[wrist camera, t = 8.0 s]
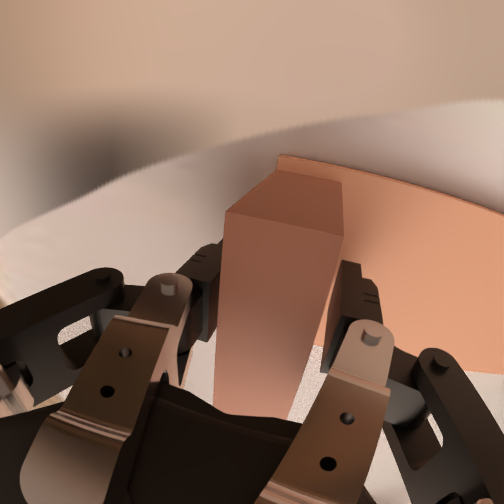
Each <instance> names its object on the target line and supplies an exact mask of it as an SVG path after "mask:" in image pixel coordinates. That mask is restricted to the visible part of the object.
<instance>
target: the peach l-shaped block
mask: <svg viewBox="0 0 504 504" xmlns="http://www.w3.org/2000/svg"><path fill="white" fill-rule="evenodd" d="M341 260H346V261H351V262H355V263H359V264H361V270H362V277H363V278H367V279H371V280H372V281H373V282H374V284H375V285H376V286H377V287H378V292H379V298H380V305H381V311H382V318H383V325H384V326H385V327H387V328H388V329H389V330H390V331H391V333H392V334H393V336H394V340H395V343H394V346H396V347H397V348H399V349H400V350H402V351H405V352H407V353H409V354H412V355H414V356H416V357H418V356H419V355H420V353H421V352H422V351H423V350H424V349H426V348H439V349H442V350H444V351H446V352H447V353H449V354H450V355H452V356H453V357H454V358H455V360H456V361H457V362H458V364H459V365H460V367H461V368H462V370H464V371H473V372H483V373H494V374H504V214H501V213H498V212H496V211H493V210H490V209H488V208H485V207H482V206H479V205H477V204H474V203H471V202H468V201H465V200H462V199H459V198H456V197H453V196H450V195H447V194H444V193H440V192H437V191H434V190H431V189H427V188H424V187H421V186H417V185H414V184H410V183H407V182H403V181H399V180H396V179H392V178H388V177H384V176H380V175H376V174H372V173H368V172H364V171H360V170H355V169H351V168H346V167H342V166H337V165H333V164H328V163H323V162H318V161H313V160H308V159H302V158H297V157H291V156H286V155H280V156H278V163H277V170H276V171H274V172H273V173H272V174H271V175H269V176H268V177H267V178H266V179H264V180H263V181H262V182H261V183H259V184H258V185H257V186H256V187H255V188H253V189H252V190H251V191H250V192H248V193H247V194H246V195H245V196H244V197H242V198H241V199H240V200H239V201H238V202H236V203H235V204H234V205H233V206H232V207H230V208H229V209H228V210H227V211H226V212H225V223H224V235H223V248H222V261H221V274H220V288H219V303H218V319H217V335H216V353H215V373H214V395H213V407H215V408H217V409H219V410H220V411H222V412H224V413H227V414H232V415H244V416H260V417H275V418H280V419H284V420H286V419H287V417H288V414H289V411H290V409H291V406H292V404H293V401H294V398H295V395H296V393H297V390H298V387H299V384H300V382H301V379H302V376H303V373H304V370H305V367H306V364H307V362H308V359H309V356H310V353H311V350H312V347H313V345H317V346H322V347H323V346H324V338H325V330H326V322H327V312H328V306H329V302H330V298H331V294H332V291H333V287H334V284H335V280H336V276H337V273H338V269H339V266H340V262H341Z"/></svg>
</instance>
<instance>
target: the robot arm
mask: <svg viewBox="0 0 504 504" xmlns="http://www.w3.org/2000/svg"><path fill="white" fill-rule="evenodd" d="M222 248H223V239H222V240H221V241H220V242H219V243H218V244H213V243H211V244H209V245H206V246H204V247H201V248H200V249H199V250H198V251H197V252H196V253H195V255H193V256H192V257H191V258H190V260H188V261H187V262H186V263H185V264H184V265H183V266H182V267H181V268H180V269H179V270H178V271H177V272H176V273H163V274H159V275H156V276H154V277H152V278H151V279H150V280H149V281H148V282H147V284H146V285H145V286H136V285H125V284H124V277H123V274H122V273H121V272H120V271H119V270H117V269H114V268H106V267H105V268H97V269H94V270H91V271H89V272H86V273H84V274H81V275H79V276H76V277H74V278H71V279H69V280H67V281H64V282H62V283H59V284H57V285H55V286H52V287H50V288H47V289H45V290H43V291H40V292H38V293H36V294H33V295H31V296H29V297H26V298H24V299H22V300H20V301H17V302H15V303H13V304H11V305H8V306H6V307H4V308H2V309H0V504H376V503H375V501H374V500H373V498H372V497H371V495H370V494H369V492H368V491H367V489H366V488H365V486H364V483H365V480H366V477H367V475H368V472H369V469H370V466H371V463H372V460H373V457H374V453H375V450H376V447H377V443H378V440H379V437H380V433H381V429H382V428H383V431H384V433H385V435H386V438H387V440H388V443H389V445H390V448H391V450H392V453H393V455H394V458H395V460H396V463H397V466H398V468H399V471H400V473H401V476H402V479H403V481H404V484H405V487H406V489H407V492H408V495H409V497H410V500H411V503H412V504H504V434H503V432H502V431H501V429H500V427H499V426H498V424H497V422H496V421H495V419H494V417H493V416H492V414H491V412H490V411H489V409H488V408H487V406H486V404H485V403H484V401H483V400H482V398H481V396H480V395H479V393H478V392H477V390H476V389H475V387H474V386H473V384H472V383H471V381H470V380H469V378H468V377H467V375H466V374H465V372H464V371H463V370H462V368H461V367H460V365H459V364H458V362H457V361H456V360H455V358H454V357H453V356H452V355H450V354H449V353H447V352H446V351H444V350H442V349H439V348H426V349H424V350H423V351H422V352H421V353H420V355H419V356H418V357H416V356H414V355H412V354H409V353H407V352H405V351H402V350H400V349H399V348H397V347H396V346H394V343H395V340H394V336H393V334H392V333H391V331H390V330H389V329H388V328H387V327H385V326H384V325H383V318H382V311H381V305H380V298H379V292H378V287H377V286H376V285H375V284H374V282H373V281H372V280H371V279H367V278H363V277H362V270H361V264H359V263H355V262H351V261H346V260H341V262H340V266H339V269H338V273H337V276H336V280H335V284H334V287H333V291H332V294H331V298H330V302H329V306H328V312H327V322H326V330H325V338H324V346H323V354H322V361H321V368H320V372H321V373H326V374H328V375H327V377H326V379H325V381H324V383H323V385H322V387H321V389H320V391H319V393H318V395H317V397H316V399H315V401H314V403H313V405H312V407H311V409H310V411H309V413H308V415H307V417H306V419H305V420H304V422H303V424H302V423H297V422H293V421H288V420H284V419H280V418H275V417H260V416H244V415H232V414H227V413H224V412H222V411H220V410H219V409H217V408H215V407H213V406H212V405H210V404H208V403H207V402H205V401H203V400H202V399H200V398H199V397H197V396H195V395H194V394H192V393H190V392H189V391H186V390H184V389H183V388H184V384H185V381H186V377H187V373H188V369H189V365H190V361H191V357H192V353H193V345H194V343H195V342H196V340H197V339H198V340H201V341H204V342H208V341H209V339H210V337H211V336H212V334H213V332H214V331H215V329H216V327H217V319H218V303H219V288H220V274H221V261H222ZM87 316H89V317H90V322H91V326H92V329H91V330H89V331H87V332H85V333H83V334H81V335H79V336H77V337H75V338H73V339H71V340H69V341H67V342H65V343H63V344H61V345H59V344H58V341H57V337H58V334H59V332H60V331H61V330H62V329H63V328H64V327H66V326H68V325H70V324H72V323H74V322H77V321H79V320H81V319H83V318H85V317H87ZM72 385H73V386H72ZM70 386H72V388H71V390H70V392H69V394H68V396H67V398H66V400H65V401H64V402H60V403H57V404H53V405H50V406H46V407H42V408H38V409H35V410H31V409H32V407H34V406H36V405H38V404H40V403H42V402H43V401H45V400H47V399H49V398H51V397H52V396H54V395H56V394H58V393H59V392H61V391H63V390H65V389H67V388H68V387H70ZM431 413H432V415H433V417H434V419H435V421H436V423H437V425H438V427H439V429H440V431H441V433H442V435H443V446H442V448H441V445H440V443H439V441H438V439H437V437H436V435H435V433H434V431H433V429H432V427H431V425H430V423H429V421H428V419H427V418H428V416H429V415H430V414H431Z"/></svg>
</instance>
